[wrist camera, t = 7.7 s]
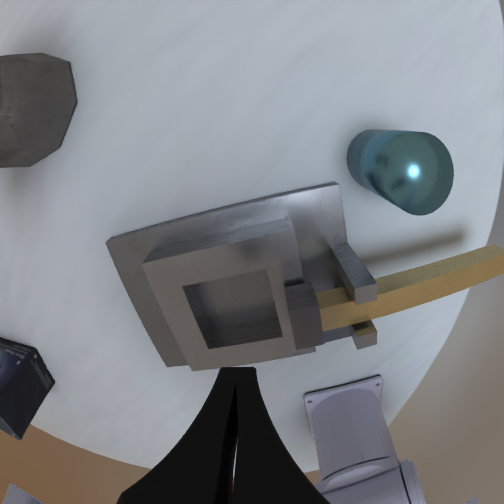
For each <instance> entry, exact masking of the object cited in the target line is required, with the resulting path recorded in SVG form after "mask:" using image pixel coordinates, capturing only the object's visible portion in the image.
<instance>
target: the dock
mask: <svg viewBox="0 0 504 504" xmlns="http://www.w3.org/2000/svg"><path fill="white" fill-rule="evenodd" d="M105 243H106V245H107V248H108V250H109V252H110V255H111V257H112V260H113V262H114V264H115V267H116V269H117V271H118V273H119V276H120V278H121V280H122V282H123V284H124V287H125V289H126V291H127V293H128V295H129V297H130V299H131V301H132V303H133V305H134V308H135V310H136V312H137V313H138V315H139V317H140V319H141V321H142V323H143V325H144V327H145V329H146V331H147V333H148V335H149V336H150V338H151V340H152V342H153V344H154V346H155V347H156V349H157V351H158V353H159V354H160V356H161V358H162V360H163V361H164V363H165V365H166V366H167V367H173V366H184V365H189V366H190V368H191V369H192V371H197V370H207V369H215V368H222V367H231V366H238V365H245V364H252V363H258V362H264V361H270V360H275V359H281V358H286V357H291V356H296V355H301V354H306V353H311V352H315V351H316V350H315V346H313V347H309V348H304V349H299V350H296V346H295V341H294V337H293V332H292V327H291V323H290V318H289V314H288V308H287V302H286V296H285V290H284V287H288V286H293V285H297V284H302V283H306V282H312V285H313V288H314V291H315V293H319V292H323V291H327V290H332V289H336V288H340V287H344V286H346V287H347V289H348V291H349V293H350V295H351V297H352V299H353V301H354V303H355V305H359V304H363V303H367V302H370V301H374V300H377V282H376V281H375V280H374V278H373V277H372V275H371V274H370V273H369V271H368V270H367V268H366V267H365V266H364V264H363V263H362V262H361V260H360V259H359V258H358V256H357V255H356V253H355V252H354V251H353V249H352V248H351V247H350V246H349V244H348V243H347V237H346V229H345V221H344V214H343V207H342V200H341V193H340V187H339V184H338V183H336V182H334V183H328V184H323V185H318V186H313V187H309V188H304V189H299V190H294V191H290V192H285V193H280V194H276V195H271V196H267V197H263V198H258V199H254V200H250V201H245V202H241V203H237V204H233V205H229V206H225V207H221V208H217V209H213V210H209V211H205V212H201V213H197V214H193V215H189V216H186V217H182V218H178V219H175V220H171V221H167V222H164V223H160V224H156V225H153V226H149V227H146V228H142V229H139V230H136V231H132V232H129V233H125V234H122V235H119V236H116V237H112V238H110V239H109V240H107V241H106V242H105ZM349 336H352V338H353V340H354V343H355V345H356V348H357V350H358V349H361V348H365V347H368V346H372V345H375V344H377V330H376V328H375V327H374V325H373V323H372V321H371V320H367V321H364V322H360V323H356V324H352V325H348V326H344V327H340V328H336V329H332V330H328V331H323V338H324V342H329V341H333V340H337V339H341V338H345V337H349Z"/></svg>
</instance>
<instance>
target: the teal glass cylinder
mask: <svg viewBox="0 0 504 504" xmlns="http://www.w3.org/2000/svg"><path fill="white" fill-rule="evenodd" d="M347 165H348V169H349V171H350V173H351V175H352V177H353V178H354V179H355V181H356V182H357V183H359V184H360V185H361V186H363V187H365V188H367V189H368V190H370V191H372V192H374V193H375V194H377V195H379V196H381V197H382V198H384V199H386V200H387V201H389V202H391V203H392V204H394V205H396V206H397V207H399V208H401V209H402V210H404V211H406V212H407V213H410V214H413V215H426V214H430V213H432V212H434V211H435V210H437V209H438V208H439V207H440V206H441V205H442V204H443V203H444V202H445V200H446V199H447V197H448V195H449V193H450V191H451V188H452V184H453V177H454V170H453V163H452V159H451V156H450V154H449V151H448V150H447V148H446V146H445V145H444V144H443V143H442V142H441V141H440V140H439V139H438V138H437V137H435V136H433V135H431V134H429V133H425V132H415V131H399V130H366V131H364V132H362V133H360V134H358V135H357V136H356V137H355V138H354V139H353V141H352V142H351V144H350V146H349V148H348V152H347Z"/></svg>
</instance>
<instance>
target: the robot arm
mask: <svg viewBox="0 0 504 504" xmlns="http://www.w3.org/2000/svg"><path fill="white" fill-rule="evenodd" d="M382 382H383V379H382V377H381V376H376V377H373V378H370V379H366V380H363V381H359V382H355V383H351V384H348V385H344V386H340V387H335V388H331V389H327V390H322V391H318V392H313V393H308V394H306V395H305V396H304V401H305V405H306V410H307V415H308V420H309V425H310V430H311V435H312V438H315V442H316V449H317V455H318V462H319V470H320V477H321V482H317V483H315V487H314V486H313V484H312V483H311V482H310V481H309V480H308V479H307V477H306V476H305V475H304V473H303V472H302V471H301V469H300V468H299V467H298V465H297V464H296V463H295V461H294V460H293V458H292V457H291V455H290V454H289V452H288V451H287V449H286V447H285V446H284V444H283V442H282V441H281V439H280V437H279V435H278V433H277V431H276V429H275V427H274V425H273V423H272V421H271V419H270V417H269V414H268V412H267V409H266V407H265V404H264V401H263V399H262V396H261V392H260V389H259V385H258V381H257V374H256V369H255V368H254V367H222V368H220V370H219V373H218V376H217V379H216V381H215V383H214V386H213V388H212V390H211V392H210V394H209V396H208V398H207V399H206V401H205V403H204V405H203V407H202V409H201V410H200V412H199V413H198V415H197V417H196V418H195V420H194V421H193V423H192V424H191V426H190V427H189V429H188V430H187V431H186V433H185V434H184V435H183V437H182V438H181V439H180V440H179V442H178V443H177V444H176V445H175V446H174V448H173V449H172V450H171V451H170V452H169V453H168V454H167V455H166V456H165V457H164V459H163V460H162V461H161V462H160V463H158V464H157V465H156V466H155V467H154V468H153V469H152V470H151V471H150V472H149V473H147V474H146V475H145V476H144V477H143V478H141V479H140V480H139V481H138V482H136V483H135V484H133V485H132V486H131V487H129V488H128V489H126V490H125V491H124V492H122V493H121V495H120V497H119V499H118V501H117V504H427V502H426V498H425V495H424V491H423V488H422V485H421V482H420V478H419V476H418V473H417V470H416V467H415V465H414V462H412V461H408V460H407V459H406V460H403V461H401V463H400V461H399V460H398V458H397V455H396V452H395V449H394V446H393V443H392V440H391V436H390V434H389V431H388V428H387V425H386V422H385V419H384V416H383V413H382V410H381V408H380V405H379V404H380V397H381V390H382ZM237 439H238V440H237ZM236 446H237V453H236ZM235 453H236V464H235V475H234V485H233V468H234V460H235ZM3 504H43V503H41V502H40V501H39V500H37V499H36V498H34V497H33V496H31V495H29V494H28V493H26V492H25V491H23V490H21V489H20V488H18V487H17V486H15V485H14V484H10V486H9V488H8V491H7V493H6V496H5V498H4V501H3ZM464 504H479V501H478V499H477V497H475V498H473V499H471V500H469V501H468V502H466V503H464Z"/></svg>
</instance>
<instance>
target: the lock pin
mask: <svg viewBox="0 0 504 504" xmlns="http://www.w3.org/2000/svg"><path fill="white" fill-rule="evenodd" d="M503 273H504V250H503V249H502V248H500V247H499V246H497V245H496V244H491V245H488V246H485V247H482V248H479V249H476V250H473V251H470V252H467V253H463V254H460V255H457V256H454V257H451V258H447V259H444V260H441V261H437V262H434V263H431V264H427V265H424V266H420V267H417V268H413V269H410V270H406V271H402V272H399V273H395V274H391V275H388V276H384V277H380V278H376V279H374V280H375V281H376V282H377V300H374V301H370V302H367V303H363V304H359V305H355V303H354V301H353V299H352V297H351V295H350V293H349V291H348V289H347V287H346V286H344V287H340V288H336V289H332V290H327V291H323V292H319V293H315V291H314V288H313V285H312V282H306V283H302V284H297V285H293V286H288V287H284V290H285V296H286V302H287V308H288V314H289V318H290V323H291V327H292V332H293V337H294V341H295V346H296V350H299V349H304V348H309V347H313V346H318V345H322V344H324V338H323V331H328V330H332V329H336V328H340V327H344V326H348V325H352V324H356V323H360V322H364V321H367V320H371V319H375V318H378V317H382V316H385V315H389V314H392V313H395V312H399V311H402V310H405V309H408V308H412V307H415V306H418V305H421V304H424V303H427V302H430V301H433V300H436V299H439V298H442V297H444V296H447V295H450V294H453V293H455V292H458V291H461V290H464V289H466V288H469V287H471V286H474V285H476V284H479V283H481V282H484V281H486V280H489V279H491V278H494V277H496V276H498V275H501V274H503Z"/></svg>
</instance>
